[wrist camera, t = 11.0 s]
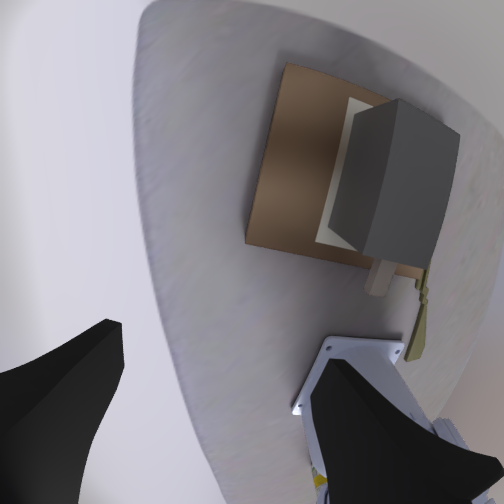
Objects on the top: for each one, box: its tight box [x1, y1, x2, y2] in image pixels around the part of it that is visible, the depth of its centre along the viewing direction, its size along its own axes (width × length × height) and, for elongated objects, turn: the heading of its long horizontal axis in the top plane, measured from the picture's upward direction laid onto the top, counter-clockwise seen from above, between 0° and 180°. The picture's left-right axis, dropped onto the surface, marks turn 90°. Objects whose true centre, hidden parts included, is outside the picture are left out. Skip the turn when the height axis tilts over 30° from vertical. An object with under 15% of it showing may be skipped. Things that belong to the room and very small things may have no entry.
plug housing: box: [328, 98, 460, 297], centre depth 13 cm, size 9×4×5 cm, turn 168°
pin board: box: [245, 63, 423, 279], centre depth 14 cm, size 11×13×4 cm
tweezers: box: [404, 261, 431, 362], centre depth 19 cm, size 12×2×1 cm, turn 10°
